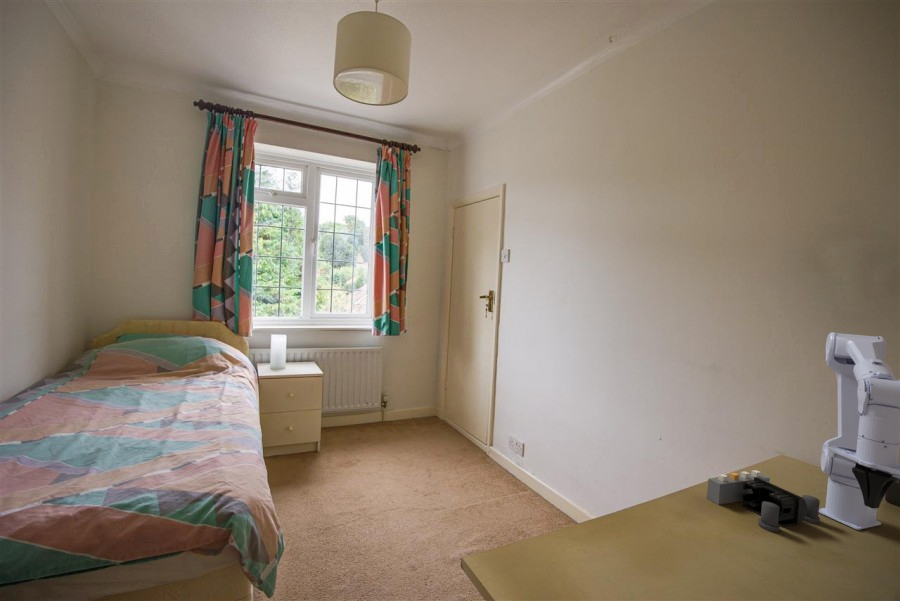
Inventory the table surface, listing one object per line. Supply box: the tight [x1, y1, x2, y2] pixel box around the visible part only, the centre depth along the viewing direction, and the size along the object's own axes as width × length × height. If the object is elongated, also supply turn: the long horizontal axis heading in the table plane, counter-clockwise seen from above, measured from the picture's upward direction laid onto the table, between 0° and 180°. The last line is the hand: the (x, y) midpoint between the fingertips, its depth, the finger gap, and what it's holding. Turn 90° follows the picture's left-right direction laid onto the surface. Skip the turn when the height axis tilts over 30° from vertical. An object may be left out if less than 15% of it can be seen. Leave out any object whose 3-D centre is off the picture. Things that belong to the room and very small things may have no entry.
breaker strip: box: [706, 469, 771, 505], centre depth 102 cm, size 18×3×6 cm, turn 110°
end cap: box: [742, 477, 807, 528], centre depth 94 cm, size 10×7×7 cm
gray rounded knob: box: [757, 501, 781, 533], centre depth 89 cm, size 4×4×5 cm
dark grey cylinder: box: [801, 494, 821, 525], centre depth 93 cm, size 4×4×5 cm
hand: (871, 506), depth 81 cm, fingers closed
